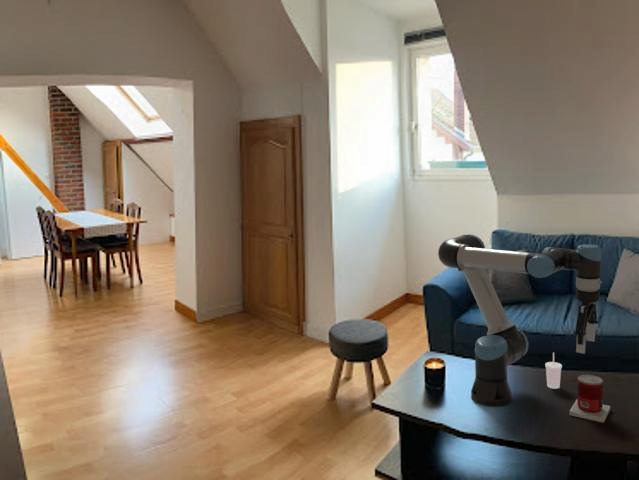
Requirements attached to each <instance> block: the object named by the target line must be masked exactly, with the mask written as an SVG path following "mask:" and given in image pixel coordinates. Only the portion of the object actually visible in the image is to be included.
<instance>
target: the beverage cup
mask: <svg viewBox="0 0 639 480" xmlns="http://www.w3.org/2000/svg"><path fill="white" fill-rule="evenodd" d="M544 365H545V373H546V386H547V387H548V388H550V389H554V390H555V389H560V388H561V385H560V384H561V378H562V377H561V376H562V374H561V373H562V367H563V365H562V364H561V363H560V362H555V352H552V361H548V362H545V364H544Z"/></svg>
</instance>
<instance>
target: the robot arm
mask: <svg viewBox="0 0 639 480" xmlns="http://www.w3.org/2000/svg"><path fill="white" fill-rule="evenodd" d="M437 251H438V253H437V255H438V258H439V261H440V262H441V264H443V265H444V266H445V267H448V268H452V269H457V270H458V272H459V273H460V274H463V275H464V277H465V279H466V281H467V284H468V286H469V288H470V291H471V293H472V295H473V297H474V300H475V301H476V304H477V306H478V308H479V311H480V313H481V316H482V317H483V320H484V321H485V323H486V324H485V325H486V326H487V329H488V330H487V333H486V335H484V336H481V337H479V338H477V340H476V341H475V345H474V346H475V347H474V363H475V364H474V365H475V379H474V380H473V381H474V382H473V384H472V388H471V391H470V392H471V393H470V396H471V399H472V400H473V401H474V402H475V403H477V404H480V405H481V406H485V407H486V406H488V407H504V406H506V405H509V404H511V403H512V401H513V393H512V390H511V386H510V384H509V381H508V367H509V366H510V365H512V364H514V363H515V362H517V361H520V360H521V359H522V358H523V357H524V356H525V355H526V353H528V350H529V340H528V337H527V335H525V333H524V332H523V331H521V330H520V329H519V328H517V326H516V323H514V322H511V321H510V320H509V319H508V317H507V314H506V312H505V309H504V307H503V305H502V302H501V301H500V299H499V295H498V294H497V292H496V289H495V287H494V285H493V283H492V281H491V278H490V276H489V274H488V272H487V270H491V271H492V270H493V271H501V272H508V273H509V272H510V273H517V274H518V273H519V274H527V275H530V276H532V277H534V278H537V279H542V278H546V277H549V276H551V275H552V274H555V273H557V272H559V271H561V270H565V271H573V272H576V276H575V280H576V281H575V287H576V289H575V300H577V301H580V302H581V304H580V305H578V307H577V308H578V310H577V311H578V312H577V317H576V318H577V319H576V325H575V331H574V333H573V335H576V345H575V346H576V349H575V353H580V354H583V355H585V353H586V341H588V342H592V343H593V342H594V343H595V342H596V341H595V340H596V325H597V324H599V320H598V313H597V305H596V303H597V302H599V301H600V295H601V292H600V289H601V284H602V283H603V281H602V280H601V273H602V271H601V270H602V261H603V260H602V248H601V247H600V246H599V245H596V244H586V243H585V244H584V243H583V244H579V245H578V246H577V248H576V249H571V248H561V247H555V246H553V247H551V246H547V247H544V249H543V250H542V251H541V253H536V252H524V251H517V250H503V249H492V248H486V246H485V243H484V241H483V240H482V239H481V238H480V237H479V236H477V235H474V234H463V235H459V236H455V237H453V238H449V239H446V240H444V241H443V242H442V243H441V244H440V245H439V248H438V250H437Z"/></svg>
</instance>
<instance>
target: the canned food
mask: <svg viewBox="0 0 639 480" xmlns="http://www.w3.org/2000/svg"><path fill="white" fill-rule="evenodd" d="M603 397H604V380H603V379H602V378H601V377H599V376H597V375H592V374H582V375H579V376H578V377H577V398H576V400H577V404H578V407H579V408H580V409H581V410H583V411H586V412H591V413H596V412H600V411H601V410H602V404H603V400H604V399H603Z"/></svg>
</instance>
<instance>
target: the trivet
mask: <svg viewBox="0 0 639 480" xmlns="http://www.w3.org/2000/svg"><path fill="white" fill-rule="evenodd" d="M610 411H611V406H610V405H606V404H603V403H602V410H601V411H600V412H596V413H591V412H586V411H583V410H581V409H580V408H579V407H578V404H577V399H576V400H575V402H574V403H573V405H572V406H571V408H570V409H569V416H571V417H572V416H573V417H577V418H580V419H585V420H589V421H595V422H598V423H603V424H604V423H605V421H606V419H607V417H608V415H609V413H610Z"/></svg>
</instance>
